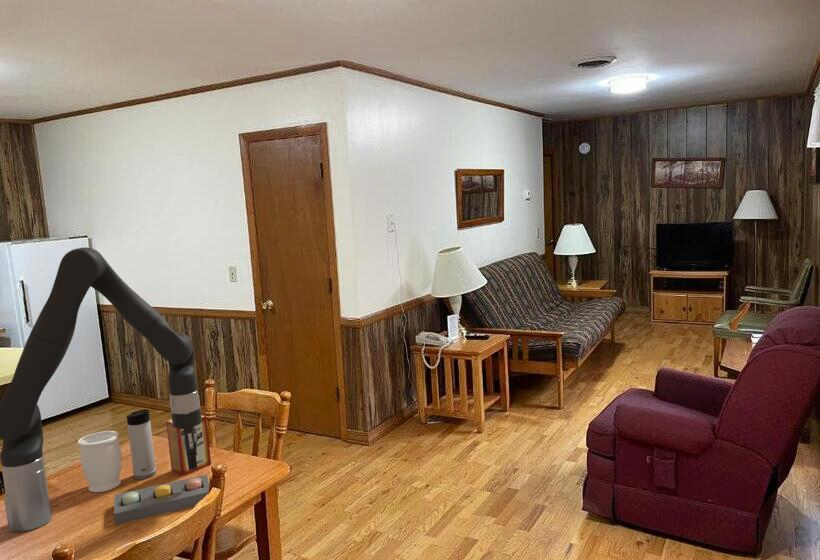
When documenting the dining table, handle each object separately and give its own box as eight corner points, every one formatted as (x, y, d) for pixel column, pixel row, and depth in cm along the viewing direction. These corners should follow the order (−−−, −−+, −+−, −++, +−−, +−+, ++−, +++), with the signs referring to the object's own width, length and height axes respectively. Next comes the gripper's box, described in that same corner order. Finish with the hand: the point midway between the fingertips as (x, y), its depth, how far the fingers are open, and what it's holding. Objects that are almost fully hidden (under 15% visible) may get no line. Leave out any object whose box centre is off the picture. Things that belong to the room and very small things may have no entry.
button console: (115, 525, 161) (113, 514, 160) (115, 505, 172) (114, 494, 171) (213, 501, 170) (211, 491, 170) (207, 484, 181) (206, 474, 181)
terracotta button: (187, 494, 171) (186, 485, 171) (186, 489, 175) (185, 480, 175) (202, 491, 173) (201, 482, 173) (201, 485, 176) (200, 476, 176)
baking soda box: (199, 459, 199) (194, 411, 197) (211, 464, 195) (205, 414, 193) (171, 470, 192) (165, 420, 190) (182, 476, 188) (177, 424, 186)
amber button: (155, 502, 168) (154, 492, 168) (155, 496, 172) (154, 487, 171) (171, 498, 170) (170, 489, 169) (170, 492, 173) (169, 483, 173)
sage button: (123, 509, 165) (121, 500, 165) (123, 503, 168) (121, 494, 168) (139, 505, 166) (138, 496, 166) (139, 499, 170) (138, 490, 170)
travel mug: (149, 480, 186) (141, 414, 184) (129, 479, 188) (121, 414, 185) (161, 470, 193) (154, 407, 190) (142, 470, 194) (134, 407, 191)
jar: (89, 498, 177) (82, 447, 175) (81, 486, 185) (74, 437, 183) (129, 485, 183) (123, 436, 181) (119, 475, 191) (113, 427, 189)
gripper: (169, 403, 175) (176, 463, 178) (172, 417, 163) (180, 481, 166) (197, 398, 178) (204, 457, 181) (202, 411, 166) (210, 474, 169)
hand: (193, 468), depth 173 cm, fingers closed
